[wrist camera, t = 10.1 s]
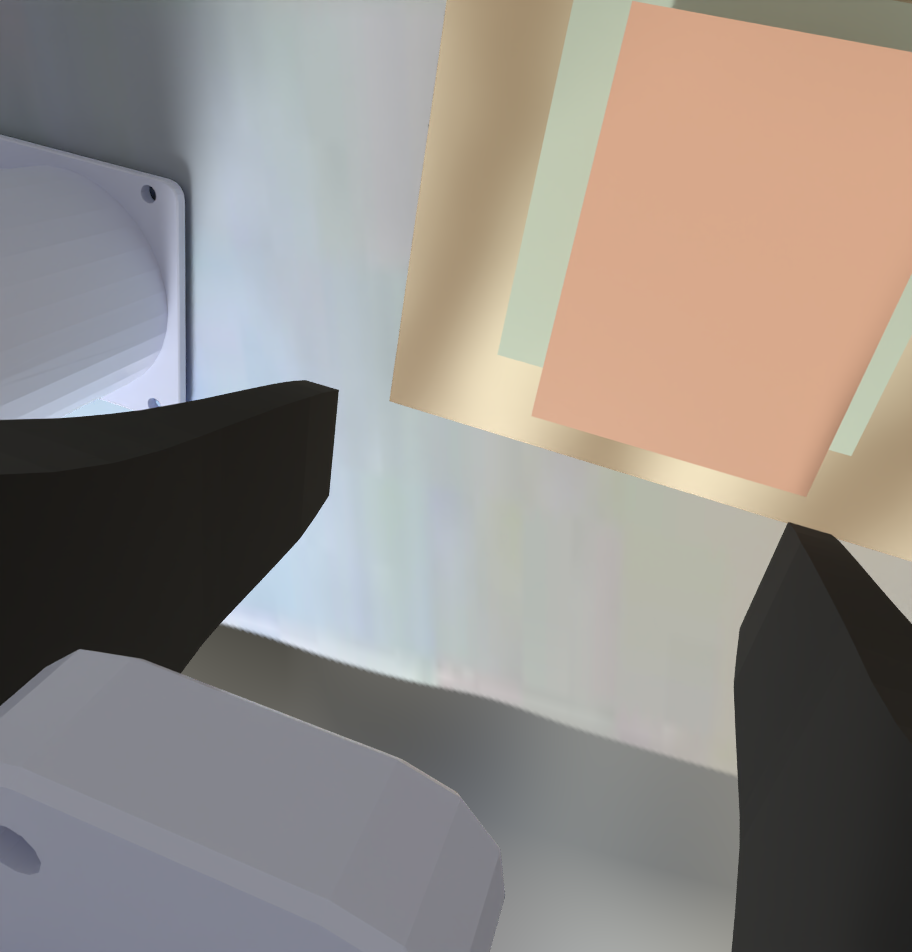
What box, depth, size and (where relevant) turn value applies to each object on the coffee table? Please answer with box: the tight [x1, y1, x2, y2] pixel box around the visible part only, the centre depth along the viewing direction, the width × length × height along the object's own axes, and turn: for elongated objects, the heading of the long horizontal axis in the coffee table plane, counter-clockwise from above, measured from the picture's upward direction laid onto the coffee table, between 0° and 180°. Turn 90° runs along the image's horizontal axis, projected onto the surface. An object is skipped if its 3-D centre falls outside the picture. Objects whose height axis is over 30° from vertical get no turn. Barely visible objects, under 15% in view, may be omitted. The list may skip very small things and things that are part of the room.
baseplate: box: [390, 0, 912, 561], centre depth 18 cm, size 15×15×1 cm
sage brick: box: [498, 0, 912, 456], centre depth 16 cm, size 8×8×3 cm
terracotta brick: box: [531, 1, 912, 497], centre depth 13 cm, size 4×6×5 cm
